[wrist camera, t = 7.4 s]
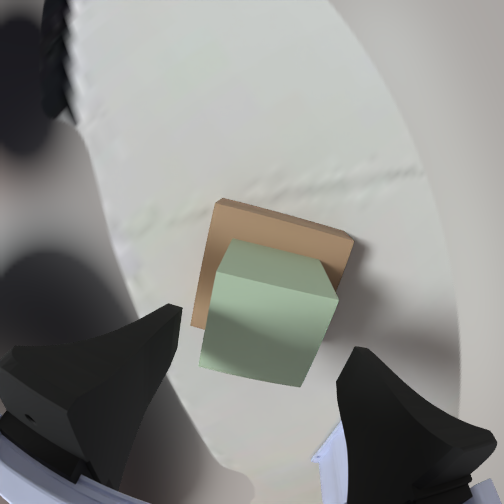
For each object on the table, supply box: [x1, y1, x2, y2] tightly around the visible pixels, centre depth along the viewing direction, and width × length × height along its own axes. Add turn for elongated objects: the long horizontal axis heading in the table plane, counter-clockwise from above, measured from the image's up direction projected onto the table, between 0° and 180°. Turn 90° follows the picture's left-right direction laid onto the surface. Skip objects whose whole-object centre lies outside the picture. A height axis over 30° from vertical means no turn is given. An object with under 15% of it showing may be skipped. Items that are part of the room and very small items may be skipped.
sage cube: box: [199, 238, 339, 387], centre depth 14 cm, size 5×5×5 cm
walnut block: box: [190, 198, 354, 330], centre depth 18 cm, size 8×8×3 cm
